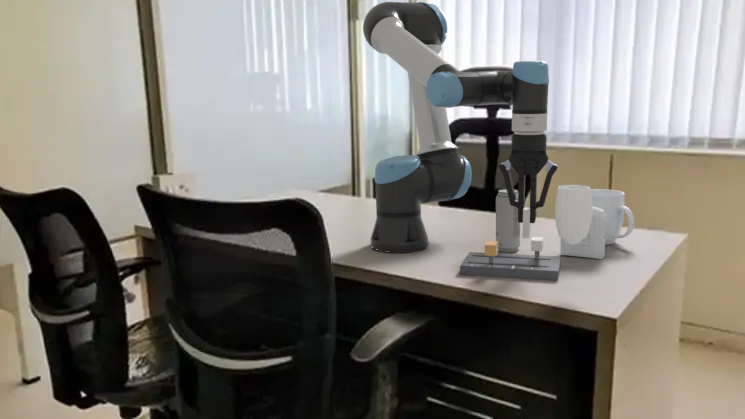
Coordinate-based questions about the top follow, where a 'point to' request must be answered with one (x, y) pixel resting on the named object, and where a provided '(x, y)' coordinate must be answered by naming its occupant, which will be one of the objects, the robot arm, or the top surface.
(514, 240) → the energy drink can
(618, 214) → the mug
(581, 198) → the cup
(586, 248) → the photo printer
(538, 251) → the fader white
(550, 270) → the console
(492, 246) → the fader orange
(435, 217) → the top surface
